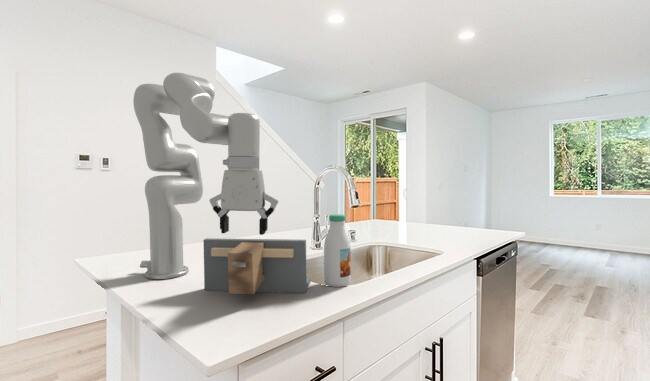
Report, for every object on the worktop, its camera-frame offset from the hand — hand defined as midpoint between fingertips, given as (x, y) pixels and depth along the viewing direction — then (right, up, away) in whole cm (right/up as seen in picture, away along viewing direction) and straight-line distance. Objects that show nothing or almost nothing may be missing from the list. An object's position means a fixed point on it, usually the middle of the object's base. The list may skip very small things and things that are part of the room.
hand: (243, 233), depth 84 cm
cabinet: (+1, -14, +1) cm, 14 cm away
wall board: (+2, -17, +11) cm, 20 cm away
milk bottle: (+24, -17, +14) cm, 32 cm away
